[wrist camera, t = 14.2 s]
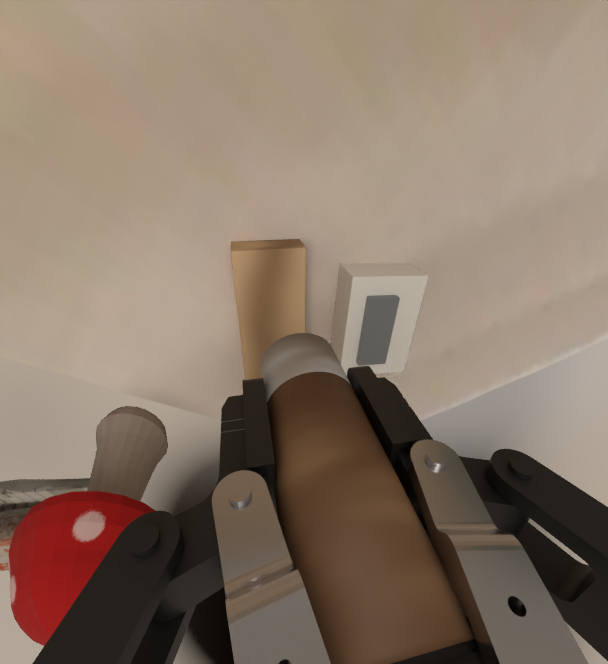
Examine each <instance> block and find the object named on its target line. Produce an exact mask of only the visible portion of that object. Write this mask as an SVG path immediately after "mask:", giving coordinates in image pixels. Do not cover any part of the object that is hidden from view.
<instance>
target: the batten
mask: <svg viewBox="0 0 608 664" xmlns="http://www.w3.org/2000/svg"><path fill="white" fill-rule="evenodd" d="M231 256H232V265H233V274H234V283H235V292H236V300H237V309H238V318H239V327H240V336H241V345H242V354H243V363H244V371H245V380H249V379H257V378H260V361H261V358H262V356H263V354H264V353H265V351H266V350H267V349H268V348H269V346H270V345H272V344H273V343H274V342H275V341H277V340H279V339H280V338H282V337H285V336H287V335H291V334H296V333H305V285H306V247H305V246H304V245H303V243H302V242H301V241H300V240H299V239H288V240H265V241H241V242H231Z"/></svg>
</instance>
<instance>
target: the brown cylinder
mask: <svg viewBox="0 0 608 664" xmlns="http://www.w3.org/2000/svg"><path fill="white" fill-rule="evenodd" d="M260 378H263V380H264V388H265V395H266V402H267V409H268V417H269V424H270V431H271V438H272V446H273V453H274V460H275V472H276V484H275V500H276V508H277V516H278V521H279V524H280V527H281V530H282V533H283V536H284V539H285V542H286V545H287V548H288V551H289V554H290V557H291V560H292V562H293V564H294V565H295V566H296V567H297V569H298V571H299V573H300V575H301V578H302V580H303V583H304V586H305V589H306V592H307V595H308V598H309V601H310V604H311V607H312V610H313V613H314V616H315V619H316V622H317V624H318V627H319V630H320V633H321V636H322V639H323V642H324V645H325V648H326V651H327V654H328V657H329V660H330V663H331V664H392V663H395V662H398V661H402V660H405V659H408V658H412V657H415V656H418V655H422V654H425V653H428V652H432V651H435V650H439V649H442V648H445V647H449V646H452V645H455V644H459V643H462V642H465V641H469V640H472V639H475V636H474V634H473V632H472V630H471V628H470V626H469V624H468V622H467V620H466V617H468V616H467V614H466V612H465V609H464V607H463V605H462V604H461V602H460V600H459V599H458V598H457V597H456V596H455V594H454V592H453V590H452V587H451V585H450V583H449V580H448V578H447V576H446V574H445V572H444V569H443V567H442V565H441V563H440V560H439V558H438V556H437V554H436V552H435V550H434V548H433V546H432V543H431V541H430V539H429V537H428V535H427V533H426V531H425V529H424V528H423V526H422V524H421V522H420V520H419V518H418V516H417V514H416V512H415V510H414V508H413V506H412V504H411V502H410V500H409V498H408V496H407V494H406V492H405V490H404V488H403V486H402V484H401V482H400V480H399V478H398V476H397V474H396V472H395V470H394V468H393V467H392V465H391V463H390V461H389V459H388V457H387V455H386V453H385V451H384V449H383V447H382V445H381V443H380V441H379V439H378V437H377V435H376V433H375V431H374V429H373V427H372V425H371V423H370V421H369V419H368V417H367V415H366V413H365V411H364V409H363V407H362V405H361V404H360V402H359V400H358V398H357V396H356V394H355V392H354V390H353V388H352V386H351V384H350V382H349V380H348V378H347V376H346V374H345V372H344V370H343V368H342V366H341V364H340V362H339V360H338V358H337V356H336V354H335V352H334V350H333V349H332V347H331V345H330V344H329V343H328V342H327V341H326V340H324V339H323V338H321V337H319V336H317V335H314V334H310V333H296V334H291V335H287V336H285V337H282V338H280V339H279V340H277V341H275V342H274V343H273V344H272V345H270V346H269V348H268V349H267V350H266V351H265V353H264V354H263V356H262V358H261V361H260Z"/></svg>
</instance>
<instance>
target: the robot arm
mask: <svg viewBox="0 0 608 664" xmlns="http://www.w3.org/2000/svg"><path fill="white" fill-rule="evenodd" d="M347 378H348V380H349V382H350V384H351V386H352V388H353V390H354V392H355V394H356V396H357V398H358V400H359V402H360V404H361V405H362V407H363V409H364V411H365V413H366V415H367V417H368V419H369V421H370V423H371V425H372V427H373V429H374V431H375V433H376V435H377V437H378V439H379V441H380V443H381V445H382V447H383V449H384V451H385V453H386V455H387V457H388V459H389V461H390V463H391V465H392V467H393V468H394V470H395V472H396V474H397V476H398V478H399V480H400V482H401V484H402V486H403V488H404V490H405V492H406V494H407V496H408V498H409V500H410V502H411V504H412V506H413V508H414V510H415V512H416V514H417V516H418V518H419V520H420V522H421V524H422V526H423V528H424V529H425V531H426V533H427V535H428V537H429V539H430V541H431V543H432V546H433V548H434V550H435V552H436V554H437V556H438V558H439V560H440V563H441V565H442V567H443V569H444V572H445V574H446V576H447V578H448V580H449V583H450V585H451V587H452V590H453V592H454V594H455V596H456V597H457V598H458V599H459V600H460V602H461V604H462V605H463V607H464V609H465V612H466V614H467V616H468V617H466V620H467V622H468V624H469V626H470V628H471V630H472V632H473V634H474V636H475V639H472V640H469V641H465V642H462V643H459V644H455V645H452V646H449V647H445V648H442V649H439V650H435V651H432V652H428V653H425V654H422V655H418V656H415V657H412V658H408V659H405V660H402V661H398V662H395V663H392V664H588V662H587V660H586V659H585V657H584V655H583V653H582V651H581V650H580V648H579V646H578V644H577V642H576V641H575V639H574V637H573V635H572V634H571V632H570V630H569V628H568V627H567V625H566V623H567V624H568V625H570V626H571V627H572V628H573V629H574V630H575V631H576V632H577V633H578V634H579V635H580V636H582V638H584V639H585V640H586V641H587V642H588V643H589V644H590V645H591V646H592V647H593V648H594V649H595V650H596V651H598V652H599V653H600V654H601V655H602V656H603V657H604V658H605V659H606V660H607V661H608V507H607V506H605V505H603V504H602V503H600V502H599V501H597V500H596V499H594V498H593V497H591V496H589V495H588V494H587V493H585V492H584V491H582V490H580V489H579V488H577V487H576V486H574V485H573V484H571V483H570V482H568V481H567V480H565V479H564V478H562V477H561V476H559V475H557V474H556V473H554V472H553V471H551V470H550V469H548V468H547V467H545V466H544V465H542V464H540V463H539V462H537V461H536V460H534V459H533V458H531V457H530V456H528V455H526V454H524V453H522V452H519V451H516V450H511V449H501V450H498V451H496V452H494V454H493V455H492V457H491V459H490V460H482V459H474V458H466V457H460V456H458V455H457V454H456V452H455V451H454V450H453V449H451V448H450V447H449V446H447V445H445V444H443V443H441V442H439V441H435V440H433V439H432V437H431V436H430V435H429V433H428V432H427V430H426V429H425V427H424V426H423V425H422V423H421V422H420V420H419V419H418V417H417V416H416V414H415V413H414V411H413V410H412V409H411V407H409V404H408V403H407V401H406V400H405V399H404V398H403V396H402V394H401V393H400V391H399V390H398V388H397V387H396V386H395V385H394V384H393V383H391V382H390V381H388V380H387V379H386V378H384V377H383V378H377V377H376V375H375V374H374V372H373V370H372V369H371V367H370V366H360V367H352V368H348V371H347ZM221 422H222V423H221V444H220V469H219V470H220V471H219V479H218V482H217V485H216V487H215V488H214V490H213V491H212V493H211V494H210V495H209V496H208V497H207V498H206V499H205V500H204V501H203V502H201V503H200V504H198V505H196V506H195V507H193V508H191V509H189V510H187V511H185V512H183V513H181V514H179V515H177V516H175V517H174V516H173V515H172V514H170V513H168V512H165V511H153V512H149V513H146V514H144V515H142V516H140V517H138V518H136V519H135V520H133V521H132V522H131V523H130V524H129V525H128V526H127V527H126V528H125V529H124V530H123V531H122V532H121V534H120V535H119V536H118V538H117V539H116V541H115V542H114V544H113V545H112V547H111V548H110V550H109V551H108V553H107V554H106V556H105V557H104V559H103V560H102V562H101V563H100V564H99V566H98V567H97V569H96V570H95V572H94V573H93V575H92V576H91V578H90V579H89V581H88V582H87V584H86V585H85V587H84V588H83V590H82V591H81V593H80V594H79V596H78V597H77V599H76V600H75V602H74V603H73V605H72V606H71V608H70V609H69V610H68V612H67V613H66V615H65V616H64V618H63V619H62V621H61V622H60V624H59V625H58V627H57V628H56V630H55V631H54V633H53V634H52V636H51V637H50V639H49V640H48V642H47V643H46V645H45V646H44V648H43V649H42V651H41V652H40V653H39V655H38V656H37V658H36V659H35V661H34V662H33V664H173V661H174V659H175V657H176V654H177V652H178V649H179V647H180V644H181V642H182V639H183V636H184V634H185V631H186V629H187V626H188V624H189V621H190V619H191V616H192V614H193V612H194V609H195V606H196V604H198V603H199V602H201V601H203V600H204V599H206V598H207V597H209V596H210V595H212V594H213V593H215V592H217V591H218V590H220V589H221V588H222V587H224V586H225V593H226V608H227V615H228V623H229V629H230V636H231V643H232V649H233V656H234V662H235V664H331V663H330V660H329V657H328V654H327V651H326V648H325V645H324V642H323V639H322V636H321V633H320V630H319V627H318V624H317V622H316V619H315V616H314V613H313V610H312V607H311V604H310V601H309V598H308V595H307V592H306V589H305V586H304V583H303V580H302V578H301V575H300V573H299V571H298V569H297V567H296V566H295V565H294V564H293V562H292V560H291V557H290V554H289V551H288V548H287V545H286V542H285V539H284V536H283V533H282V530H281V527H280V524H279V521H278V518H277V508H276V500H275V484H276V472H275V460H274V453H273V446H272V438H271V431H270V424H269V417H268V409H267V402H266V395H265V388H264V380H263V378H257V379H249V380H243V395H240V396H232V397H228V399H227V400H226V402H225V404H224V406H223V407H222V418H221ZM530 518H531V519H532V520H533V521H535V522H536V523H537V524H538V525H540V526H541V527H542V528H544V529H545V530H546V531H547V532H549V533H550V534H551V535H552V536H554V537H555V538H556V539H558V540H559V541H560V542H562V543H563V544H564V545H565V546H567V547H568V548H569V549H570V550H572V551H573V552H574V553H576V554H577V555H578V556H579V557H581V558H582V559H583V560H584V561H585V562H586V563H588V565H585V564H582V563H580V562H578V561H577V560H575V559H574V558H572V557H571V556H570V555H569V554H567V553H566V552H565V551H564V550H562V549H561V548H560V547H558V546H557V545H556V544H555V543H554V542H552V541H551V540H550V539H549V538H547V537H546V536H545V535H544V534H542V533H541V532H540V531H538V530H537V529H536V528H535V527H533V526H532V525H531V524H530V523H528V520H529V519H530ZM565 622H566V623H565Z"/></svg>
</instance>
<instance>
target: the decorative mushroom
mask: <svg viewBox="0 0 608 664" xmlns="http://www.w3.org/2000/svg"><path fill="white" fill-rule="evenodd" d="M96 441H97V452H96V457H95V461H94V465H93V469H92V474H91V477H90V481H89V485H88V489H87V491H75V492H69V493H64V494H60V495H56V496H52V497H49V498H47V499H45V500H43V501H41V502H40V503H38V504H36V505H34V506H32V508H31V509H30V510H29V512H28V513H27V514H26V516H25V517H24V518H23V520H22V521H21V522H20V524H19V525H18V526H17V528H16V529H15V530H14V533H13V537H12V541H11V544H10V548H9V556H8V567H9V572H10V578H11V579H10V598H11V608H12V611H13V615H14V618H15V620H16V622H17V623H18V625H19V626H20V628H21V629H22V630H23V631H24V632H25V634H26V635H27V636H29V637H30V638H31V639H32V640H33V641H35V642H37V643H39V644H41V645H44V646H45V645H46V643H47V642H48V640H49V639H50V637H51V636H52V634H53V633H54V631H55V630H56V628H57V627H58V625H59V624H60V622H61V621H62V619H63V618H64V616H65V615H66V613H67V612H68V610H69V609H70V608H71V606H72V605H73V603H74V602H75V600H76V599H77V597H78V596H79V594H80V593H81V591H82V590H83V588H84V587H85V585H86V584H87V582H88V581H89V579H90V578H91V576H92V575H93V573H94V572H95V570H96V569H97V567H98V566H99V564H100V563H101V562H102V560H103V559H104V557H105V556H106V554H107V553H108V551H109V550H110V548H111V547H112V545H113V544H114V542H115V541H116V539H117V538H118V536H119V535H120V534H121V532H122V531H123V530H124V529H125V528H126V527H127V526H128V525H129V524H130V523H131V522H132V521H133V520H135V519H136V518H138V517H140V516H142V515H144V514H146V513H149V512H153V511H155V510H154V509H152V508H150V507H149V506H148V505H146V504H145V503H143V502H140V500H141V498H142V496H143V493H144V491H145V488H146V486H147V484H148V481H149V480H150V477H151V475H152V473H153V471H154V469H155V467H156V465H157V464H158V462H159V461H160V460H161V459H162V458H163V456H164V455H165V454H166V452H167V448H168V443H167V436H166V431H165V427H164V425H163V424H162V422H161V421H160V420H159V419H158V418H157V417H156V416H155V415H154V414H152V413H150V412H149V411H147V410H145V409H141V408H138V407H130V406H129V407H128V406H126V407H120V408H117V409H116V410H114V411H112V412H111V413H109V414H108V415H107V416H106V417H105V418H104V419H103V420H101V422H100V423H99V425H98V426H97V432H96Z"/></svg>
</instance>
